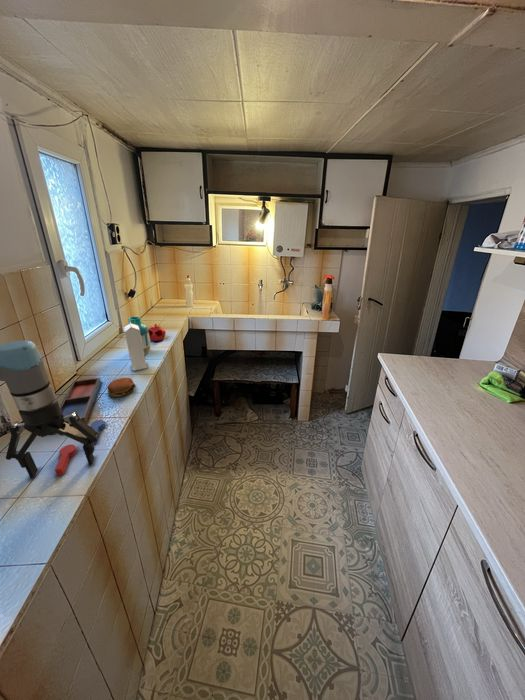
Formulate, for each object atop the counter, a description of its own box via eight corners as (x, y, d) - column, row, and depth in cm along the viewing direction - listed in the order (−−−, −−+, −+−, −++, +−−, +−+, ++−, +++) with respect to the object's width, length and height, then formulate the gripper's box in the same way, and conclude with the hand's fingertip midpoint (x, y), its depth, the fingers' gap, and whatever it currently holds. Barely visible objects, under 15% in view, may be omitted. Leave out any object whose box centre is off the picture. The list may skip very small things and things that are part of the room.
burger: (103, 395, 109) (100, 385, 107) (121, 383, 117) (118, 373, 115) (124, 400, 106) (121, 389, 104) (140, 387, 114) (138, 377, 112)
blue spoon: (85, 445, 85) (84, 440, 84) (92, 424, 93) (91, 420, 92) (100, 442, 86) (99, 437, 85) (106, 422, 94) (104, 417, 94)
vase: (126, 358, 138) (118, 321, 130) (133, 349, 148) (126, 314, 140) (149, 357, 139) (142, 320, 131) (154, 348, 148) (148, 314, 140)
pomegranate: (151, 336, 165) (149, 321, 161) (168, 336, 165) (166, 321, 161) (145, 342, 156) (142, 326, 152) (163, 342, 156) (160, 326, 152)
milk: (145, 362, 134) (137, 318, 125) (146, 368, 129) (138, 322, 120) (131, 365, 131) (122, 320, 122) (132, 371, 126) (122, 324, 117)
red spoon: (51, 476, 74) (49, 471, 73) (63, 450, 83) (61, 445, 82) (68, 473, 75) (66, 467, 75) (78, 447, 84) (76, 442, 83)
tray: (52, 429, 91) (50, 423, 90) (75, 386, 115) (73, 381, 114) (86, 423, 94) (84, 417, 93) (101, 382, 117) (99, 377, 116)
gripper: (-37, 423, 61) (1, 491, 70) (91, 402, 68) (111, 466, 77) (-18, 404, 68) (15, 468, 77) (97, 386, 75) (115, 447, 84)
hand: (63, 467), depth 77 cm, fingers open, 13 cm apart
